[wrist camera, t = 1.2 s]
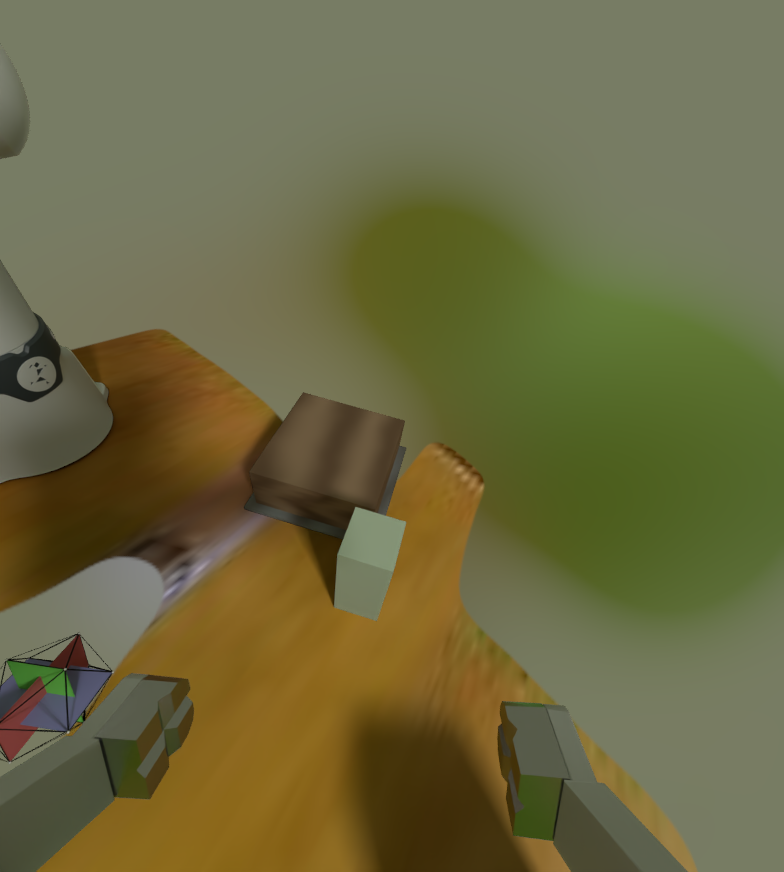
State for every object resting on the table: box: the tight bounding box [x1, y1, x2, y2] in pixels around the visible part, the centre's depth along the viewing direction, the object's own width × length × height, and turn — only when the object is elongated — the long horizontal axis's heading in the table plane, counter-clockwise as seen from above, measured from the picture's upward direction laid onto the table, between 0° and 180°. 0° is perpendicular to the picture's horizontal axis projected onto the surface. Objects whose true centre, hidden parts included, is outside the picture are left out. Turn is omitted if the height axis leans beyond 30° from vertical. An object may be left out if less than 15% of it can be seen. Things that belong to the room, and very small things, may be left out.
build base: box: [244, 393, 406, 539], centre depth 46 cm, size 16×16×6 cm
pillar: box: [334, 507, 406, 621], centre depth 34 cm, size 4×4×12 cm
